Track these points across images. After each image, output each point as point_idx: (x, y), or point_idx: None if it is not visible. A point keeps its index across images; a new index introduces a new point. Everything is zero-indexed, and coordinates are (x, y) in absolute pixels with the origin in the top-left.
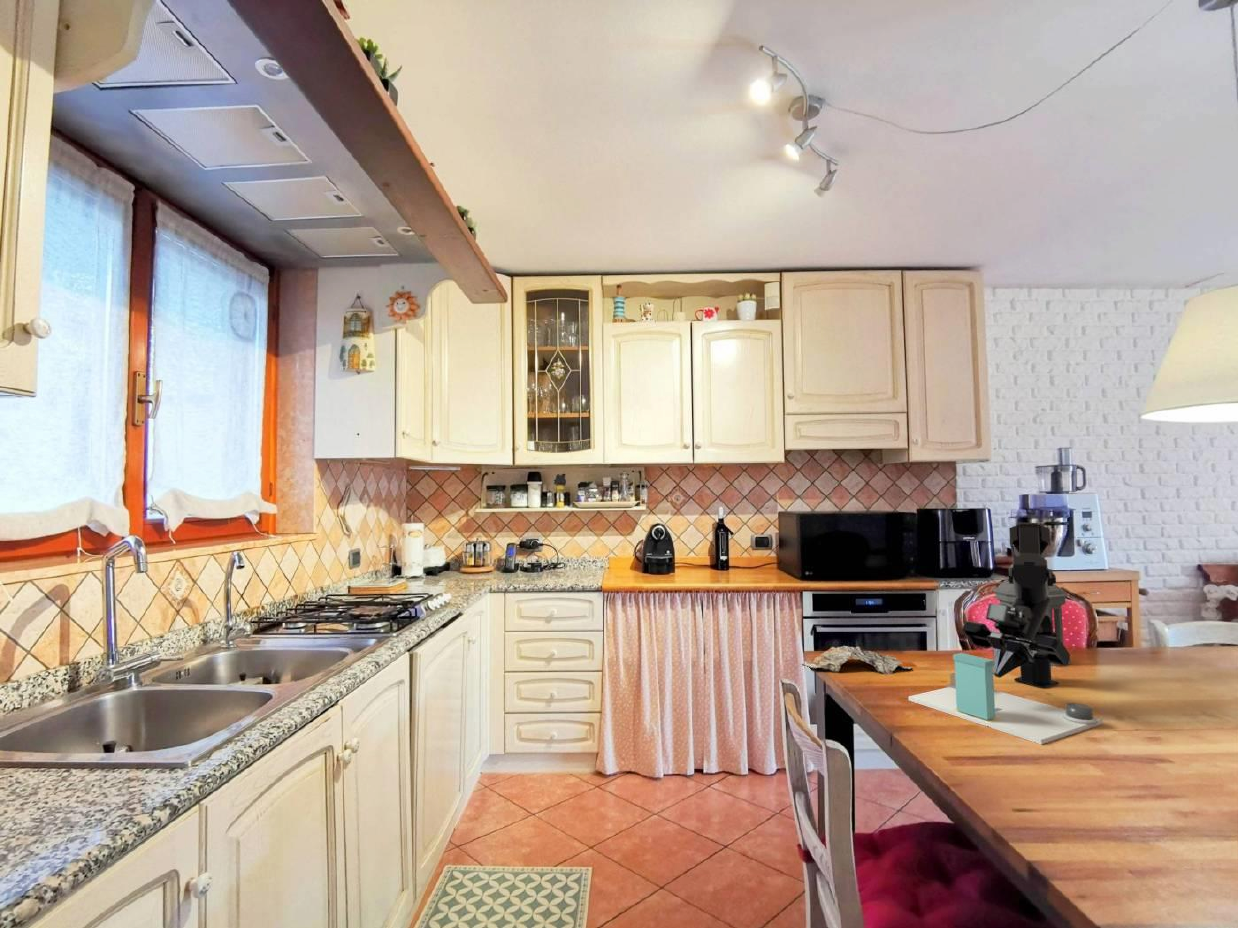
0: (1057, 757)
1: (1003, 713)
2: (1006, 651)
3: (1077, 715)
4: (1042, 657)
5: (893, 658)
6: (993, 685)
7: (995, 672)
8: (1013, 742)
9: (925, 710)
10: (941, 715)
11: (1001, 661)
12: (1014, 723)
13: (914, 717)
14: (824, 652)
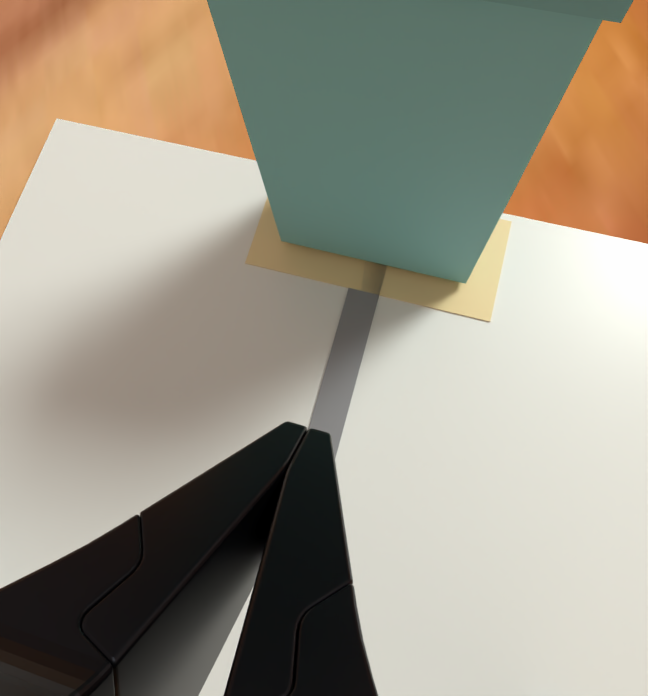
0: (6, 47)
1: (274, 380)
2: (92, 660)
3: None
4: None
5: None
6: (244, 112)
7: (309, 435)
8: (165, 77)
9: (633, 192)
10: (534, 178)
11: (227, 512)
12: (190, 252)
13: (610, 58)
14: None
